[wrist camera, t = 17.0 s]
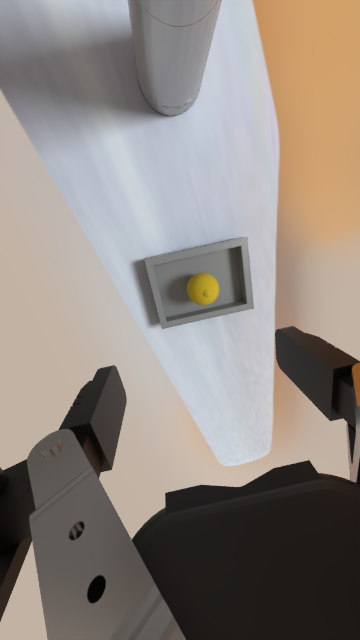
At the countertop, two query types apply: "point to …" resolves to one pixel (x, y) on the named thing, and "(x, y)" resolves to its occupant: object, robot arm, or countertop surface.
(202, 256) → the tray
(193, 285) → the lemon
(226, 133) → the countertop surface
